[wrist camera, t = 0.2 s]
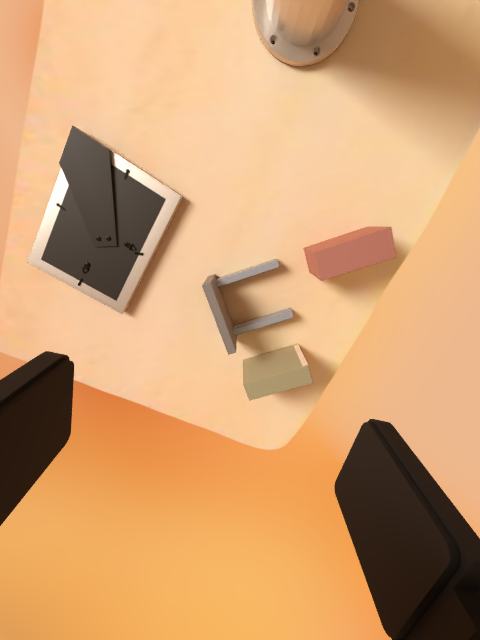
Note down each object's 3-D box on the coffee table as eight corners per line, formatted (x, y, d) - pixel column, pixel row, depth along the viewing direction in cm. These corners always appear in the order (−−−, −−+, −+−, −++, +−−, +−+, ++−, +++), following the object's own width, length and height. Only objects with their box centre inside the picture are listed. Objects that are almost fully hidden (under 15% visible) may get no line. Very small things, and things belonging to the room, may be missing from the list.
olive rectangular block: (242, 359, 49) (243, 384, 41) (297, 343, 48) (308, 365, 40) (248, 374, 50) (249, 400, 42) (301, 358, 49) (313, 383, 41)
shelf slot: (207, 276, 44) (202, 285, 37) (274, 254, 43) (281, 259, 36) (230, 336, 47) (228, 354, 41) (292, 317, 46) (301, 332, 40)
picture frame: (84, 132, 38) (36, 260, 44) (72, 125, 35) (23, 263, 41) (184, 197, 41) (126, 310, 46) (180, 195, 38) (120, 315, 44)
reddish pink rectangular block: (303, 247, 43) (314, 252, 36) (367, 226, 42) (391, 226, 35) (309, 272, 44) (321, 281, 37) (371, 252, 43) (395, 257, 36)
